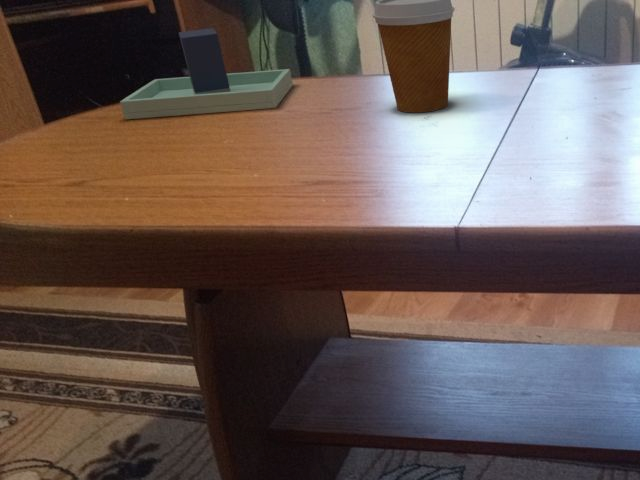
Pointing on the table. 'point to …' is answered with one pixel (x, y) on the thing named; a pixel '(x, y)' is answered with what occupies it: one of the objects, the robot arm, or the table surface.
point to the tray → (208, 95)
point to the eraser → (204, 61)
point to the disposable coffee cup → (417, 51)
